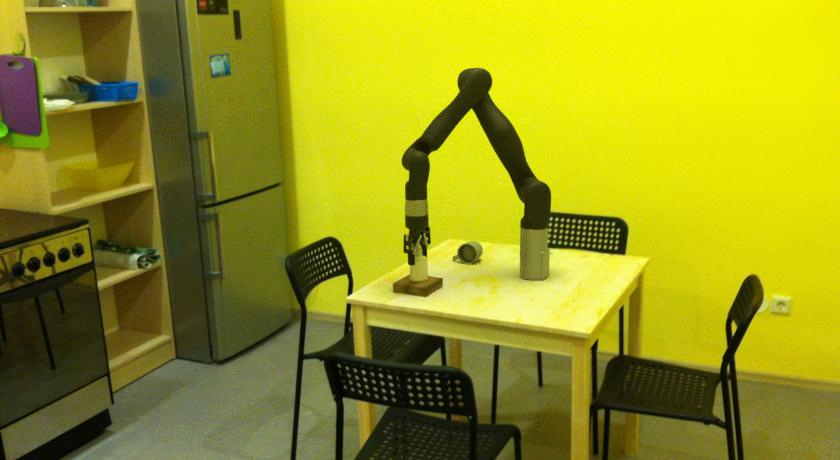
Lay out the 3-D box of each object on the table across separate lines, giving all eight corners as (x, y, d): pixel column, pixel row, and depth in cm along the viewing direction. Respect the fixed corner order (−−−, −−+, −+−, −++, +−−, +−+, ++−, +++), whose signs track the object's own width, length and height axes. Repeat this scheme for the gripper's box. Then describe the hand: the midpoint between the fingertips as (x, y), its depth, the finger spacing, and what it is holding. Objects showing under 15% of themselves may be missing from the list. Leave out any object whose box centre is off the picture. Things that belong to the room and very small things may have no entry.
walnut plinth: (442, 286, 266) (442, 277, 265) (426, 297, 256) (426, 287, 255) (410, 282, 271) (410, 273, 271) (393, 292, 261) (392, 283, 260)
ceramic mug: (484, 259, 298) (483, 239, 296) (477, 265, 291) (476, 244, 289) (457, 257, 302) (456, 237, 300) (449, 263, 295) (448, 242, 293)
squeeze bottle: (425, 283, 260) (424, 246, 257) (408, 281, 262) (407, 245, 259) (429, 279, 264) (428, 243, 261) (412, 278, 266) (411, 242, 263)
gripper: (416, 218, 250) (417, 268, 253) (437, 209, 262) (438, 257, 266) (395, 216, 253) (396, 266, 257) (416, 207, 265) (417, 255, 269)
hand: (417, 261), depth 261 cm, fingers open, 8 cm apart
